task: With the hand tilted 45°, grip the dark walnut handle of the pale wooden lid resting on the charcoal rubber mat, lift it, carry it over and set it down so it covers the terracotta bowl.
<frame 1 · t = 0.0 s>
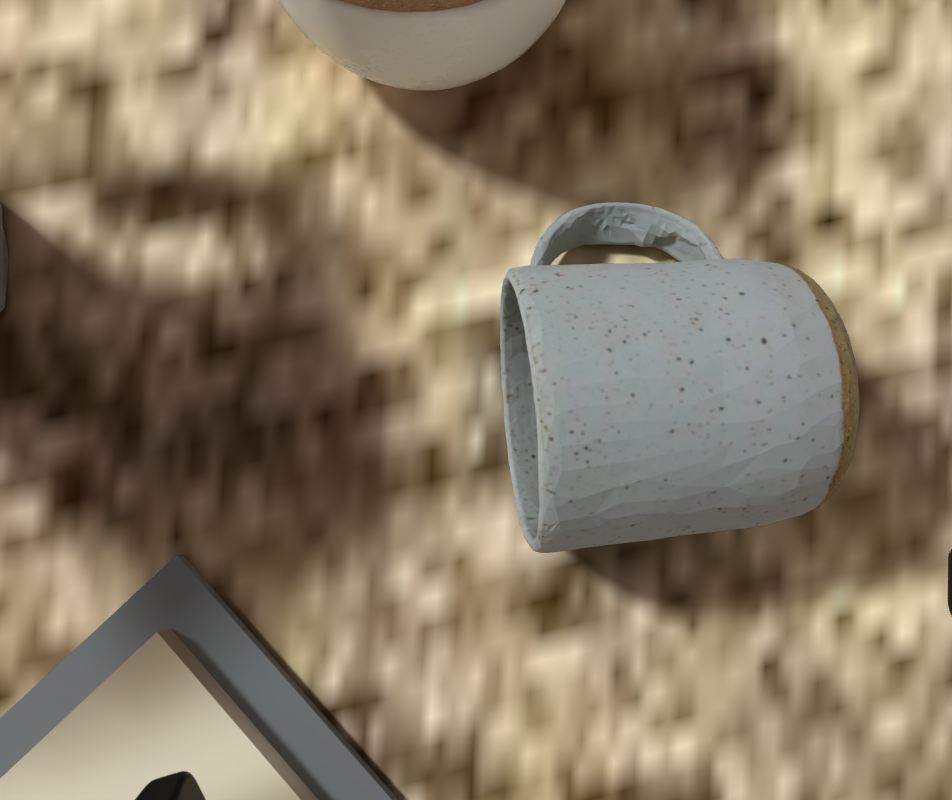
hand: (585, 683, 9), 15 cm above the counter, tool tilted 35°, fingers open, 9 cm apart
ceramic mug: (614, 382, 25), on the counter
lidded jar: (430, 12, 27), on the counter
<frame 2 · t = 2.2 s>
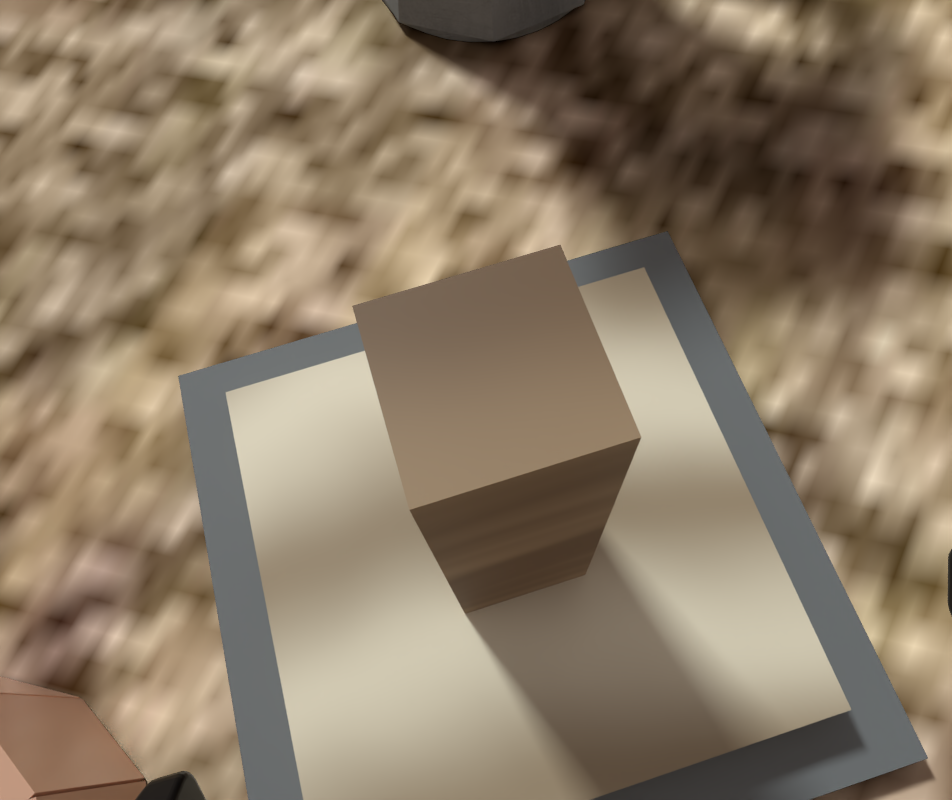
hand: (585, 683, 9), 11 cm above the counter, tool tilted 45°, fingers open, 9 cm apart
wooden lid: (506, 543, 20), resting on rubber mat
rubber mat: (507, 547, 20), on the counter
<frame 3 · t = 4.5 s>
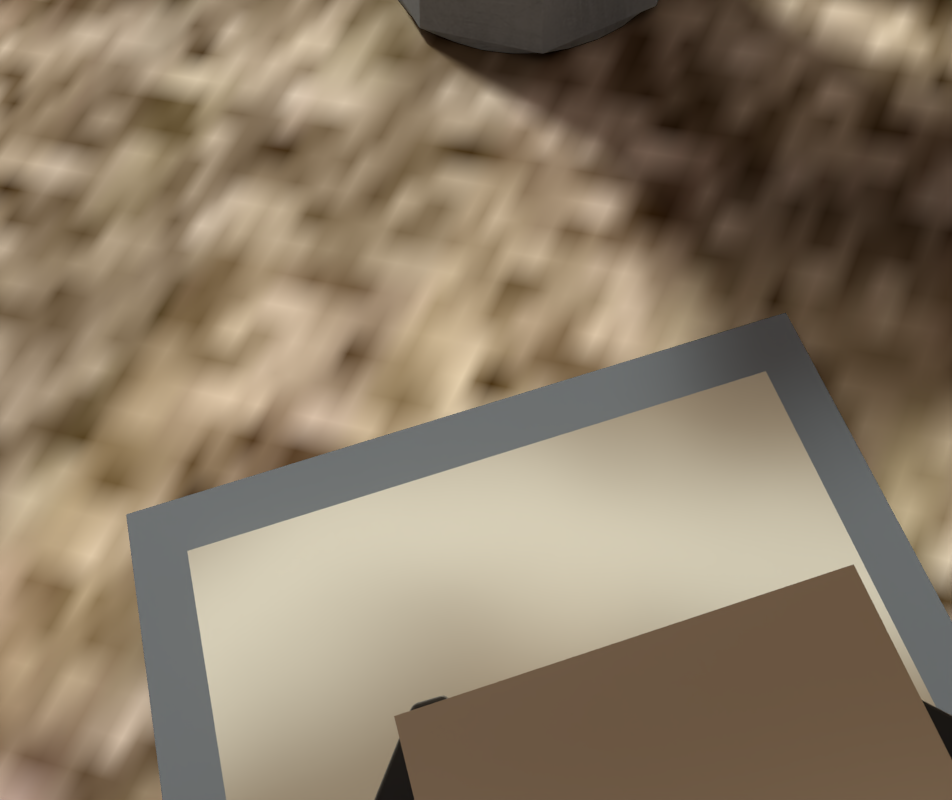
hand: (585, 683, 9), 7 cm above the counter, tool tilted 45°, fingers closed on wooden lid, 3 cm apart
wooden lid: (585, 777, 14), resting on rubber mat, touching gripper
rubber mat: (583, 776, 14), on the counter
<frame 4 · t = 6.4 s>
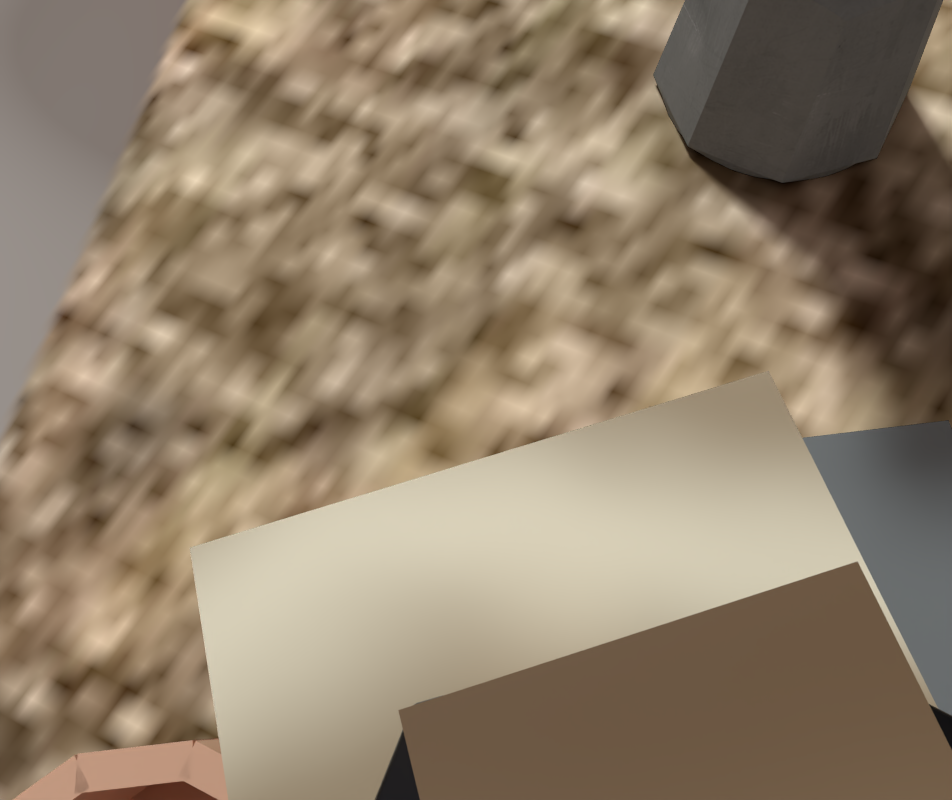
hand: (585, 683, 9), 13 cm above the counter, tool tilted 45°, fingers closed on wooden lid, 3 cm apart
wooden lid: (586, 776, 14), point 7 cm above the counter, touching gripper
rubber mat: (757, 717, 21), on the counter
coffeepot: (795, 77, 29), on the counter
when the fingers open (12 cm above the counter, at t = 8.2 s): wooden lid drops 1 cm, resting on terracotta bowl.
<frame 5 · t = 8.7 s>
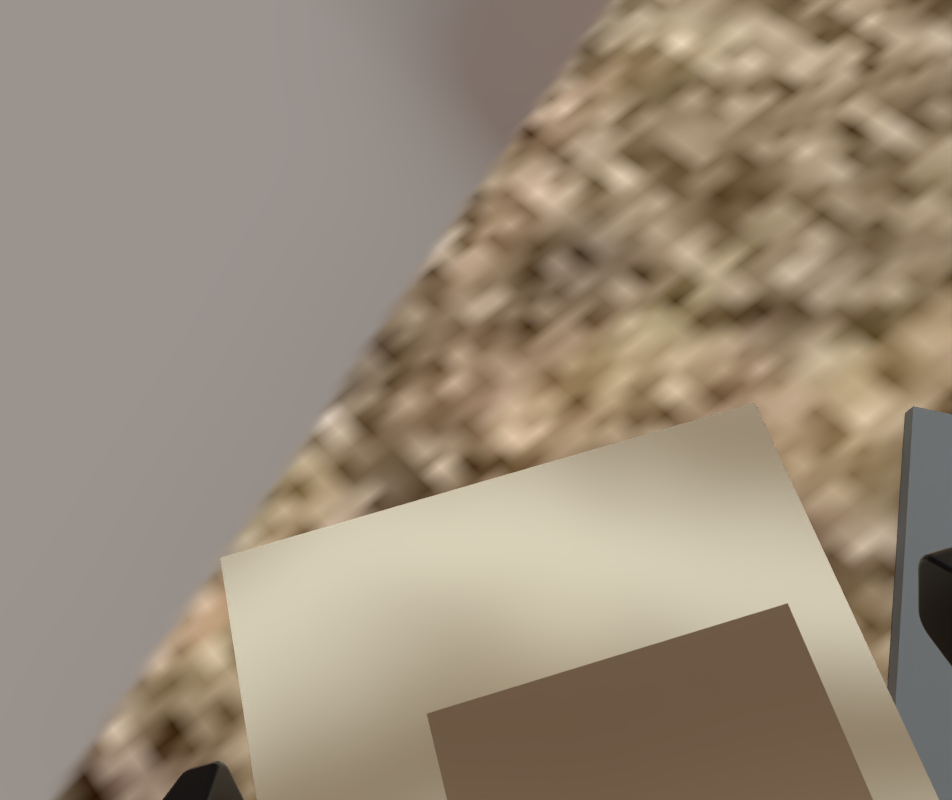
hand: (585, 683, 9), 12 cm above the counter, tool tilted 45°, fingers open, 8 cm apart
wooden lid: (579, 773, 15), point 4 cm above the counter, touching terracotta bowl
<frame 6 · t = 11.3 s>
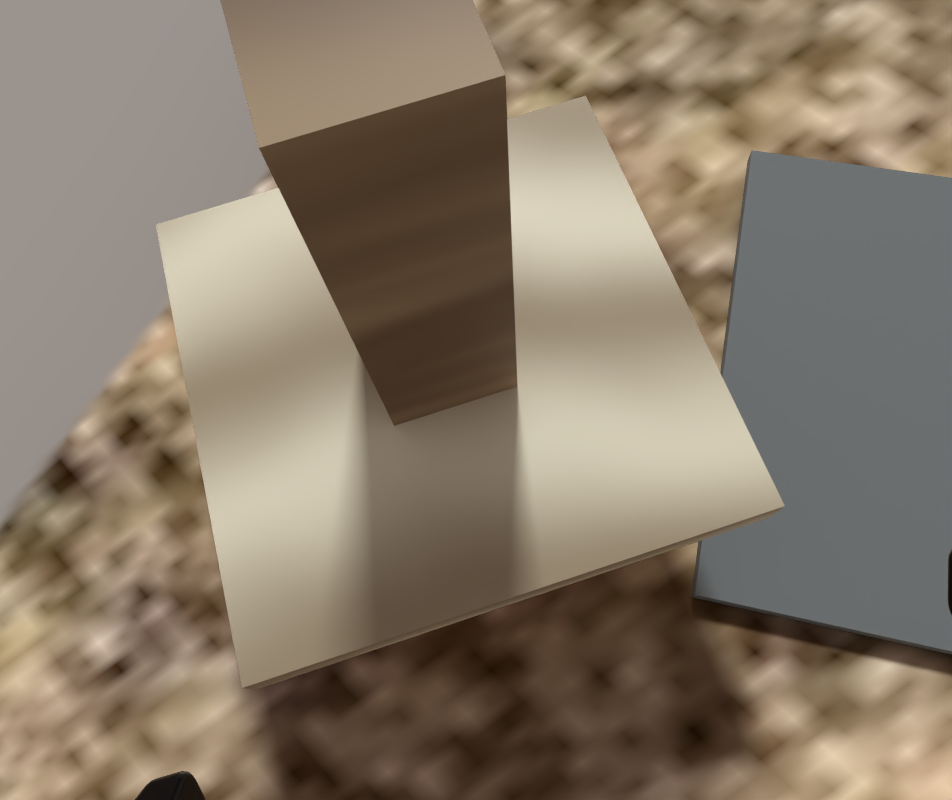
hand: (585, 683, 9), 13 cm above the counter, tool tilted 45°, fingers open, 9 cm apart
wooden lid: (442, 367, 19), point 4 cm above the counter, touching terracotta bowl
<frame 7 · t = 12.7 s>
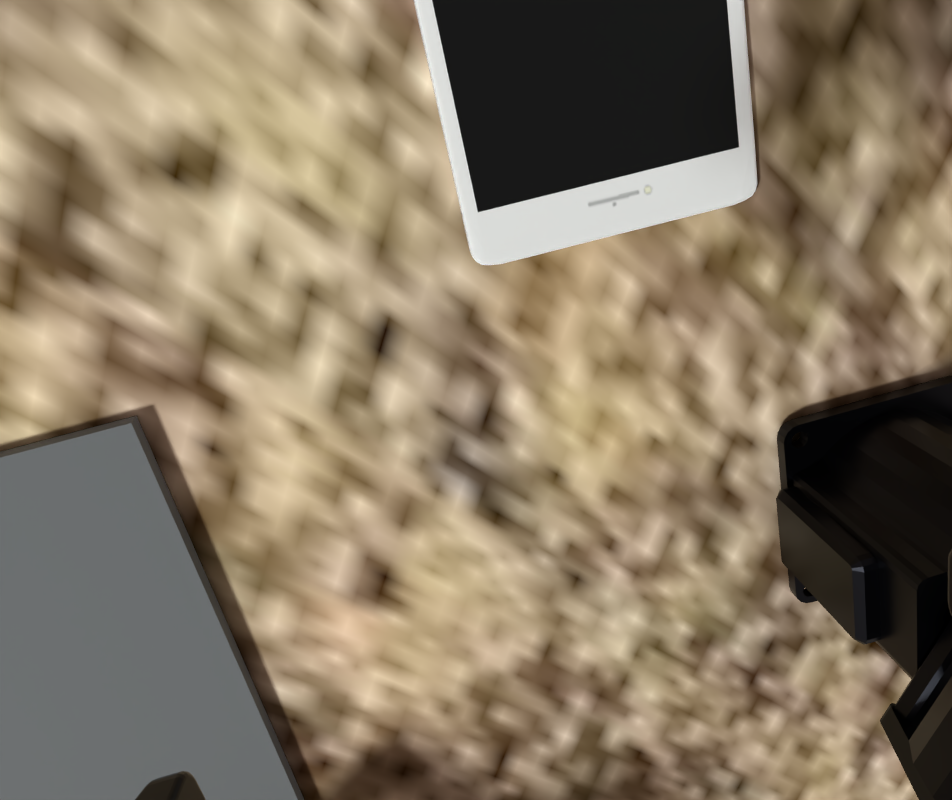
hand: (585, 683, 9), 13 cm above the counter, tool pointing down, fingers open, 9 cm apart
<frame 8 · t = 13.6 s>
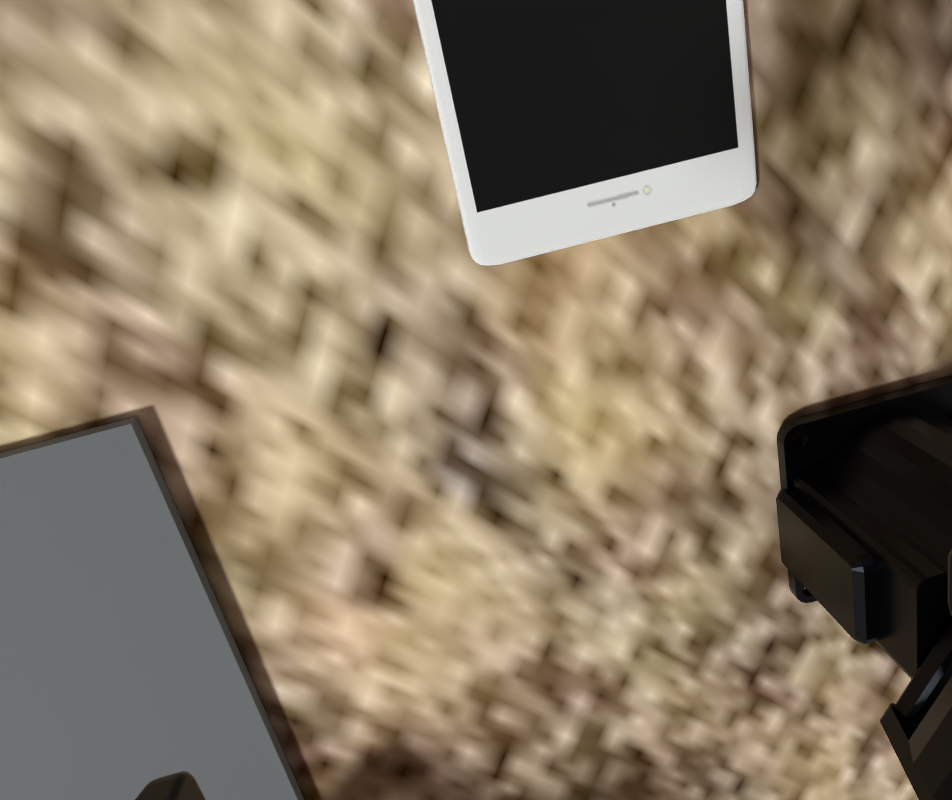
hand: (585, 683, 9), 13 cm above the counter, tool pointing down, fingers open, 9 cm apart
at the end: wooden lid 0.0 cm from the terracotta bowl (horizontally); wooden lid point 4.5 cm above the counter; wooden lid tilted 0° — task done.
